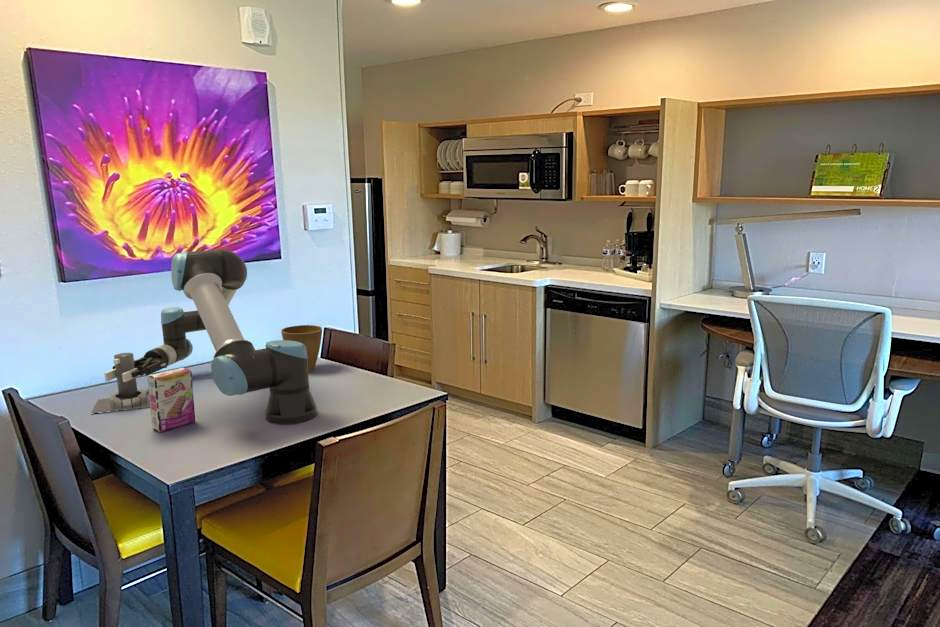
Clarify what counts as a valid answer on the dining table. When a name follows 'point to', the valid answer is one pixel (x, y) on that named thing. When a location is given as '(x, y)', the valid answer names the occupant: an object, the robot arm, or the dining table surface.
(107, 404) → the well
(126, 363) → the grey tall cylinder
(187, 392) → the candy bar box
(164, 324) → the robot arm
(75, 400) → the dining table surface
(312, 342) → the plant pot
